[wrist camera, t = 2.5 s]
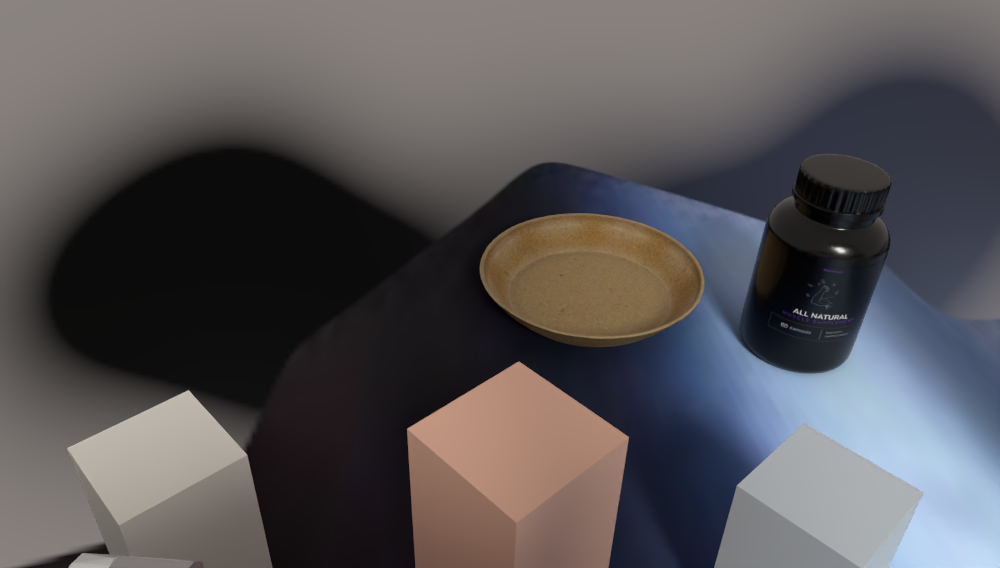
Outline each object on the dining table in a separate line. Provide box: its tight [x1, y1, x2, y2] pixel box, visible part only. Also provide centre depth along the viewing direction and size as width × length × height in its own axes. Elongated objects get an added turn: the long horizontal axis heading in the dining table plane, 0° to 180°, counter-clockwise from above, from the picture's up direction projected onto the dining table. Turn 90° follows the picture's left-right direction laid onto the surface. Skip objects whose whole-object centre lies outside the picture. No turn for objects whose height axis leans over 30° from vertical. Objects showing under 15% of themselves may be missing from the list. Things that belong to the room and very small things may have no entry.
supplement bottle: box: [740, 154, 891, 373], centre depth 47 cm, size 7×7×12 cm
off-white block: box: [67, 391, 273, 568], centre depth 34 cm, size 5×5×8 cm
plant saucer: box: [480, 213, 705, 347], centre depth 54 cm, size 15×15×3 cm
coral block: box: [407, 362, 629, 568], centre depth 29 cm, size 5×5×13 cm
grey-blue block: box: [714, 424, 924, 568], centre depth 33 cm, size 5×5×8 cm
